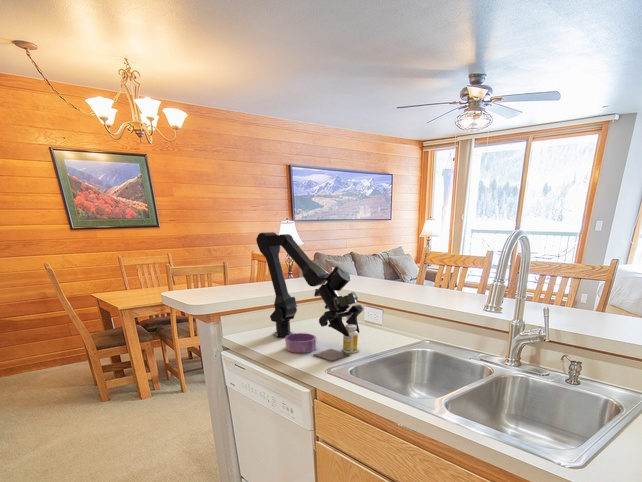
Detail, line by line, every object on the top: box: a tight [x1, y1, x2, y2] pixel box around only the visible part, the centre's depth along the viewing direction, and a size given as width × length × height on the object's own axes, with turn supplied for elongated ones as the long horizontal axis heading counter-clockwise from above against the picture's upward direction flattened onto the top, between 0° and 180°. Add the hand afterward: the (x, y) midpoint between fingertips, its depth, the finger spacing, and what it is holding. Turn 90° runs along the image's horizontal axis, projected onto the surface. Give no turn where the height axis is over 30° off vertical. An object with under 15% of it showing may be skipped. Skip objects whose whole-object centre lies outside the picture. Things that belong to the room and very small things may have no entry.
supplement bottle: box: [342, 324, 359, 354], centre depth 149 cm, size 5×5×10 cm
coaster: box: [313, 349, 350, 362], centre depth 146 cm, size 9×9×1 cm
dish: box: [284, 332, 317, 354], centre depth 151 cm, size 11×11×4 cm
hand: (353, 334), depth 148 cm, fingers closed on supplement bottle, 5 cm apart
